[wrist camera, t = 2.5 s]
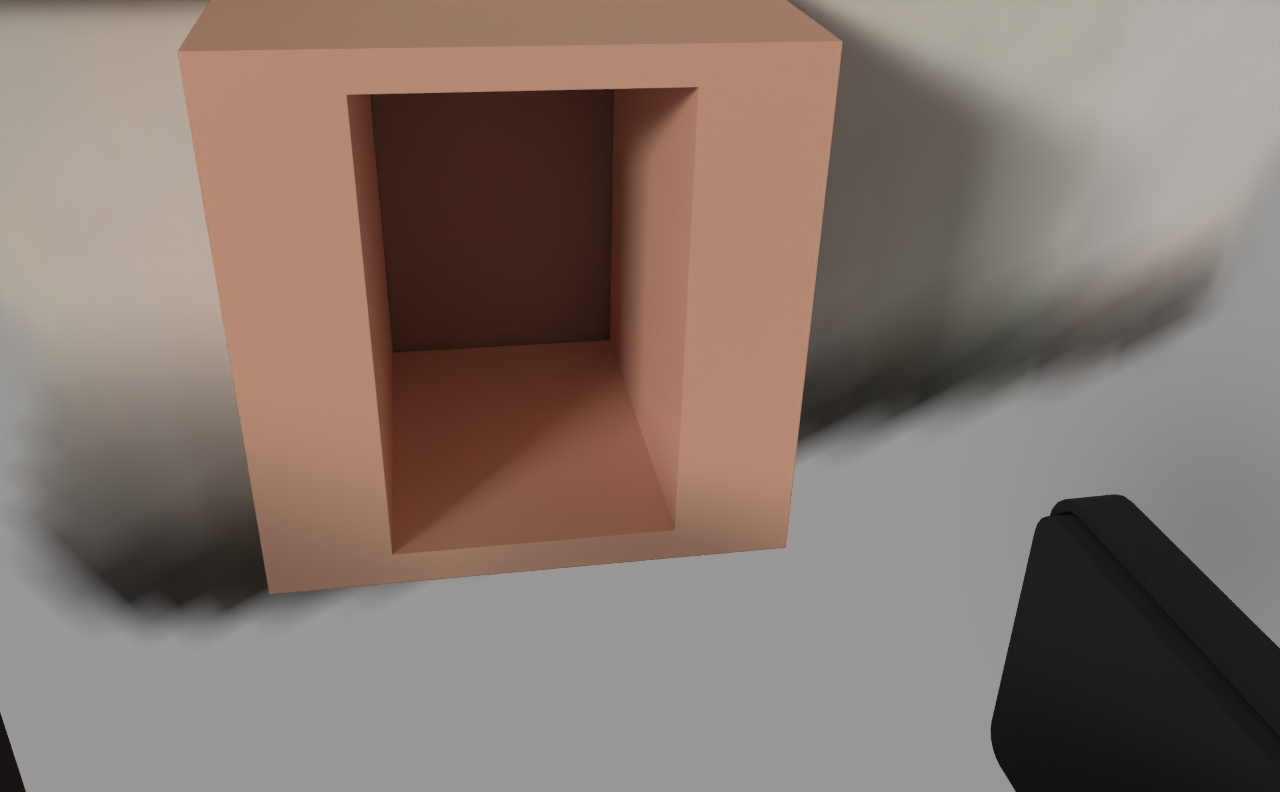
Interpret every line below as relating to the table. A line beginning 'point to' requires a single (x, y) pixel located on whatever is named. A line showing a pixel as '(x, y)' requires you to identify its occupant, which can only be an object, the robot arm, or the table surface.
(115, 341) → the table surface
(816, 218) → the pink storage bin
